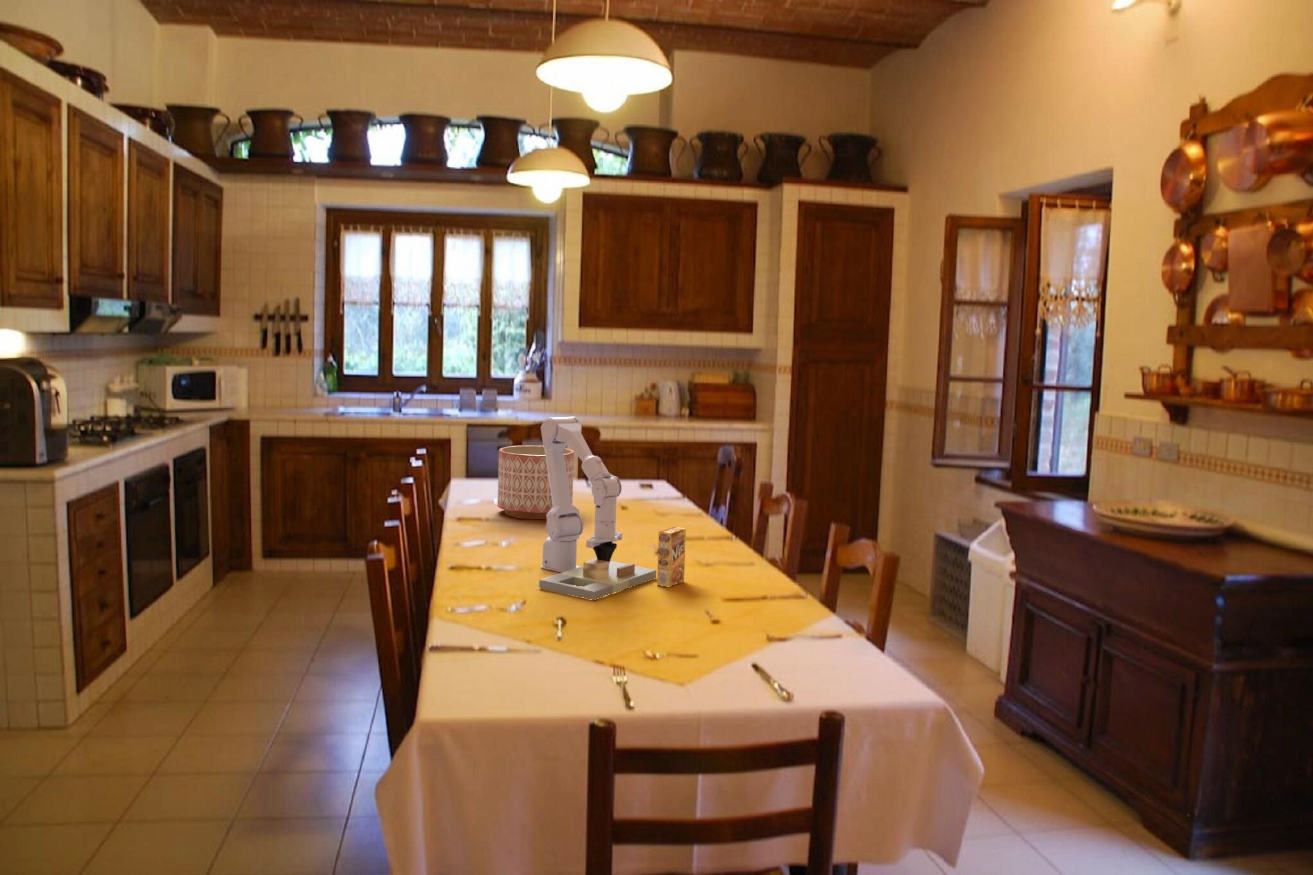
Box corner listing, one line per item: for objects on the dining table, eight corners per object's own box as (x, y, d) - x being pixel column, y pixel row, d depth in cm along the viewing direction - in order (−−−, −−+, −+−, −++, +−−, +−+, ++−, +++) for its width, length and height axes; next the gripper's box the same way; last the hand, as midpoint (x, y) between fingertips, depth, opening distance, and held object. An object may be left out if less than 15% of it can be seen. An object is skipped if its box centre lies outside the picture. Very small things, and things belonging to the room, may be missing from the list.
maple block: (583, 576, 270) (583, 562, 269) (593, 572, 274) (594, 558, 273) (597, 579, 267) (598, 565, 266) (608, 576, 271) (609, 561, 271)
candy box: (669, 588, 271) (671, 533, 269) (655, 585, 273) (658, 531, 271) (684, 581, 278) (687, 528, 277) (671, 579, 280) (673, 526, 279)
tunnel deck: (539, 588, 265) (539, 570, 264) (604, 567, 290) (604, 551, 289) (593, 601, 255) (594, 582, 255) (656, 578, 280) (656, 561, 280)
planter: (488, 508, 372) (490, 445, 370) (557, 505, 384) (559, 444, 381) (509, 522, 348) (511, 456, 345) (582, 519, 359) (584, 454, 357)
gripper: (601, 526, 264) (600, 576, 265) (632, 518, 276) (630, 566, 278) (580, 523, 268) (578, 572, 269) (611, 515, 280) (609, 562, 281)
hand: (603, 569), depth 274 cm, fingers closed
